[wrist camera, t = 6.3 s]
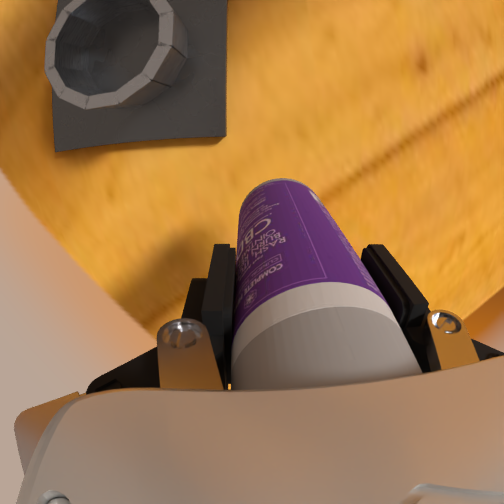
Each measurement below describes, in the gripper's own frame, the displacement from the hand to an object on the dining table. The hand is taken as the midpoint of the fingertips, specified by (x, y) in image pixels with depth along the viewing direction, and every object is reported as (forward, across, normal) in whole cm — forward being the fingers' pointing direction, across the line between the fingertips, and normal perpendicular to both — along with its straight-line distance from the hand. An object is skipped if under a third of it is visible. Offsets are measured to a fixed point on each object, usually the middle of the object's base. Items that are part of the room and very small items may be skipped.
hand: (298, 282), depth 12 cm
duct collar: (+14, +10, -11) cm, 20 cm away
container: (+7, 0, 0) cm, 7 cm away
